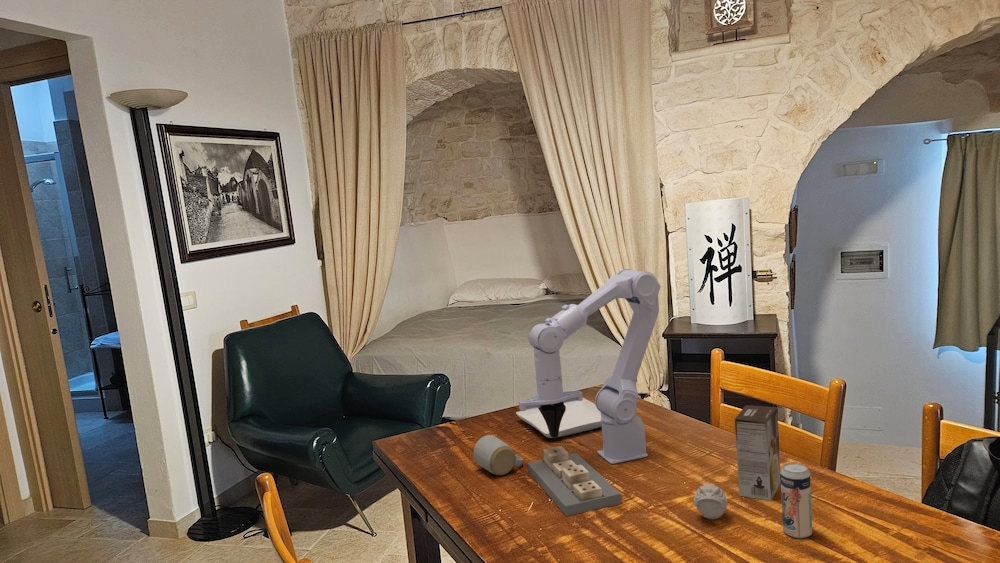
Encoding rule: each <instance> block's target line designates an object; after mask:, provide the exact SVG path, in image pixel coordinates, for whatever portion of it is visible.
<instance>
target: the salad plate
mask: <svg viewBox="0 0 1000 563" xmlns="http://www.w3.org/2000/svg"><path fill="white" fill-rule="evenodd" d="M564 405H565V406H566V411H565V413H564V415H563V417H562V420H561V423H560V428H559V434H558V437H554V438H552V437H551V436H550V434H549V430H548V427H547V424H546V422H545V420H544V418H543V416H542V414H541V412H540V410H539V409H538V408H533V409H528V410H526V411H521V410H519V411H516V412H515V414H516V416H517V417H518V418H520V419H521V420H522V421H524V422H525V423H527V424H529V425H530V426H532V427H533V428H535V429H536V430H538V432H540V433H541V434H542V435H543V436H545V437H546V438H549V439H555V438H557V439H558V438H561V437H562V438H563V437H566V436H570V435H575V434H579V433H583V431H584V432H588V431H590V430H592V431H593V430H596V429H599V428H602V424H601V412H600V411H599V410H598V409H597V407H596V405H595V402H592V401H591V400H588V399H586V398H584V397H583V401H578V400H577V401H572V402H566V403H564Z"/></svg>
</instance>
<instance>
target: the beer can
mask: <svg viewBox="0 0 1000 563" xmlns="http://www.w3.org/2000/svg"><path fill="white" fill-rule="evenodd" d="M780 478H781V483H780V492H781V493H780V494H781V495H780V496H781V500H780V501H781V516H782V517H781V519H782V520H781V521H782V531H783V533H784V534H786V535H788V536H789V537H791V538H793V539H794V538H795V539H805V538H808V537H810V536H812V534H813V533H814V532H813V512H812V509H813V508H812V487H811V486H812V485H811V484H812V483H811V472H810V470H809V469H808V467H807V466H806V465H804V464H801V463H796V462H795V463H794V462H793V463H792V462H791V463H790V462H789V463H785V464H783V466H782V468H781V469H780Z"/></svg>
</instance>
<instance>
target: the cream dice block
mask: <svg viewBox="0 0 1000 563" xmlns="http://www.w3.org/2000/svg"><path fill="white" fill-rule="evenodd" d="M572 466H577V465H576V464H575V463H574V462H573V461H572V460H568V461H563V462H559V463H554V464H553V473H554V474H555V475H556V476H557V477H558V478H559V479H562V478H563V476H562V469H563V468H567V467H572Z"/></svg>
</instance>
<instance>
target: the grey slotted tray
mask: <svg viewBox="0 0 1000 563" xmlns="http://www.w3.org/2000/svg"><path fill="white" fill-rule="evenodd" d="M568 457H569V460H572V461H573V462H574V463H575V464H576V465H582V466H583V467H584V468H585V469H586V470H587V471H589V475H590V481H592V480H593V481H594V482H595V483H596V484H597V485H598V486H599V487H600V488H602V497H600V498H596V499H591V500H587V501H582V502H580V501H579V500H578V499H577V497H576V496H575V495H574V492H573V489H572V490H569V489H568V488H567V487H566V486H565V484H564V483H563V478H562V479H559V478H558V477H557V476H556V475H555V474H554V473H553V468H552V469H550V468H549V467H548V466H547V465H546V464H545V463H544V459H540V460H536V461H530V462H527V463H526V464H527V471H528V473H529V474H530V475H531V476H532V478H533V479H534V480H535V481H536V482H537V483H538V485H539V486H540V487H541V488H542V489H543V490H544V492H545V493H546V494H547V495H548V496H549V498H551V500H552V501H553V502H554V504H555V505H556V506H557V507H558V508H559V509H560V510H561V512H562V513H563V514H564V515H565V517H567V516H572V515H577V514H580V513H586V512H590V511H594V510H598V509H599V510H600V509H603V508H607V507H612V506H616V505H620V504H623V500H622V499H623V497H622V493H621V492H620V491H619V490H618V489H617V488H616V487H614V486H613V485H612V484H611V483H610V482H609V481H608V480H607V479H606V478H604V476H603V475H601V474H600V473H599V472H598V471H597V470H596V469H594V468H593V467H592V466H591V465H590V464H589V463H588V462H587V461H586V460H585V459H584V458H582V456H580V455H579V454H578V453H577V452H575V453H568Z"/></svg>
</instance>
